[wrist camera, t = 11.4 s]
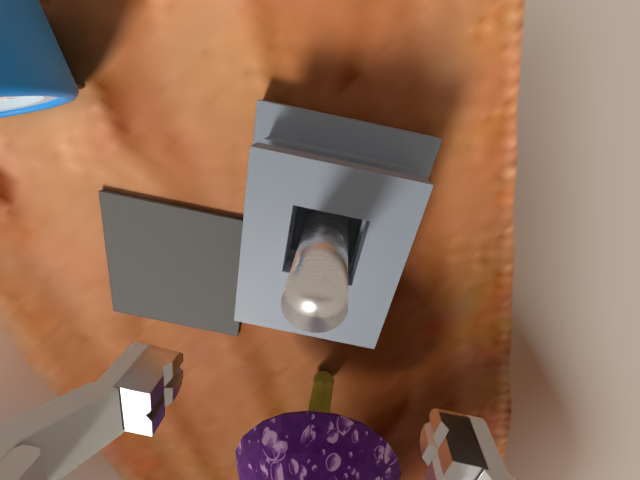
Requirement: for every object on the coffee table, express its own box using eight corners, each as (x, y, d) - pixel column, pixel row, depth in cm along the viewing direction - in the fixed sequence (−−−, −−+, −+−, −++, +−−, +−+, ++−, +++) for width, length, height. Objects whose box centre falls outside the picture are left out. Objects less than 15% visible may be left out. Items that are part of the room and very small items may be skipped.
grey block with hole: (379, 300, 27) (388, 352, 22) (245, 272, 27) (219, 317, 22) (435, 136, 21) (466, 151, 16) (262, 99, 21) (234, 101, 16)
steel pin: (352, 206, 22) (355, 286, 13) (342, 243, 24) (340, 338, 15) (310, 198, 22) (285, 271, 13) (304, 235, 23) (277, 325, 14)
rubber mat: (238, 333, 30) (237, 336, 30) (116, 308, 30) (113, 311, 30) (250, 220, 25) (249, 222, 25) (102, 189, 25) (98, 191, 24)
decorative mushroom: (404, 342, 29) (455, 559, 16) (365, 425, 34) (378, 640, 21) (274, 311, 29) (209, 506, 15) (255, 400, 34) (195, 602, 21)
